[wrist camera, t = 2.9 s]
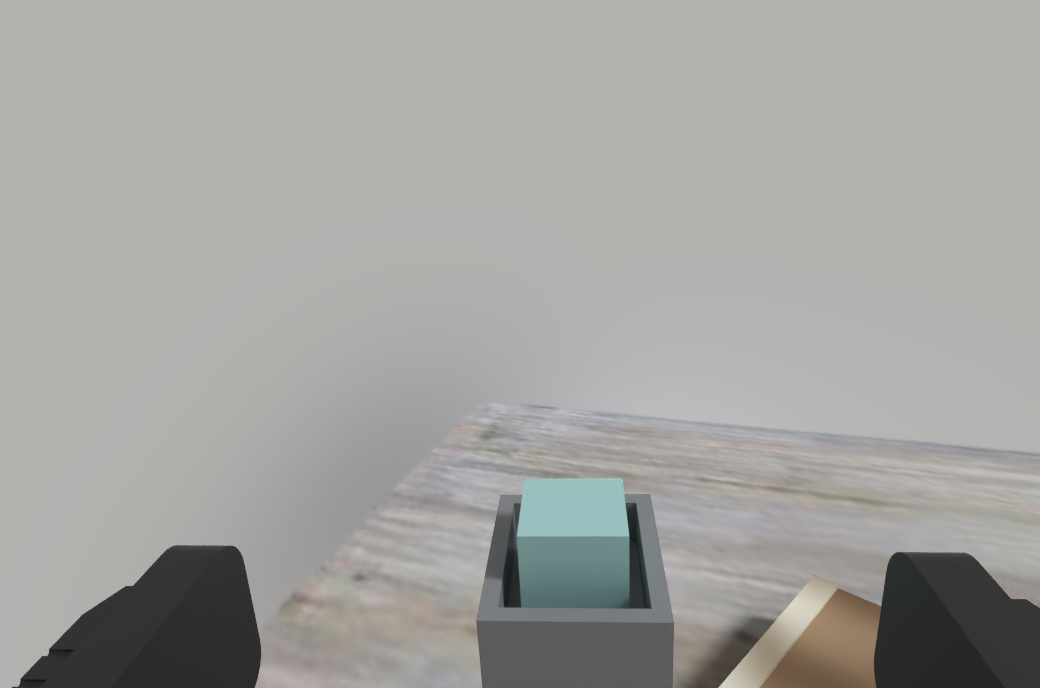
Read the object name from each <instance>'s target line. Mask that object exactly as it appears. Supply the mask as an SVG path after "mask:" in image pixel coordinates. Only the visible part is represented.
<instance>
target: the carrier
mask: <svg viewBox="0 0 1040 688" xmlns="http://www.w3.org/2000/svg"><path fill="white" fill-rule="evenodd" d="M624 496H625V504H626V513H627V521H628V529H629V603H630V609H615V608H521V595H520V579H519V564H518V549H517V530H518V523H519V516H520V509H521V501H522V495H500V500H499V506H498V511H497V516H496V521H495V526H494V532H493V537H492V542H491V547H490V553H489V558H488V563H487V568H486V573H485V579H484V584H483V589H482V594H481V599H480V605H479V610H478V615H477V620H476V622H477V632H478V643H479V654H480V665H481V676H482V687H483V688H672V684H673V641H674V620H673V615H672V610H671V604H670V599H669V593H668V588H667V583H666V577H665V572H664V566H663V561H662V556H661V550H660V545H659V539H658V534H657V529H656V523H655V518H654V512H653V507H652V501H651V496H650V494H624Z"/></svg>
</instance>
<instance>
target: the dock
mask: <svg viewBox="0 0 1040 688" xmlns="http://www.w3.org/2000/svg"><path fill="white" fill-rule="evenodd" d="M880 612H881V606H879V605H876V604H874V603H871V602H869V601H867V600H864V599H862V598H860V597H857V596H855V595H852V594H850V593H848V592H845V591H843V590H841V589H838V585H837V584H835V583H832V582H830V581H827V580H825V579H823V578H820V577H818V576H816V575H814V576H813V577H812V578H811V580H810V581H809V582H808V583H807V584H806V585H805V587H804V588H803V589H802V590H801V591H800V593H799V594H798V595H797V596H796V597H795V598H794V600H793V601H792V602H791V603H790V604H789V605H788V607H787V608H786V609H785V610H784V611H783V612H782V614H781V615H780V616H779V617H778V618H777V620H776V621H775V622H774V623H773V624H772V625H771V627H770V628H769V629H768V630H767V631H766V632H765V634H764V635H763V636H762V637H761V638H760V640H759V641H758V642H757V643H756V644H755V645H754V647H753V648H752V649H751V650H750V651H749V652H748V654H747V655H746V656H745V657H744V658H743V659H742V661H741V662H740V663H739V664H738V665H737V667H736V668H735V669H734V670H733V671H732V672H731V674H730V675H729V676H728V677H727V678H726V679H725V681H724V682H723V683H722V684H721V685H720V686H719V688H876V682H875V675H874V653H875V646H876V639H877V632H878V626H879V619H880Z"/></svg>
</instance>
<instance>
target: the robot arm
mask: <svg viewBox="0 0 1040 688" xmlns="http://www.w3.org/2000/svg"><path fill="white" fill-rule="evenodd" d="M260 661H261V644H260V638H259V633H258V628H257V623H256V618H255V613H254V608H253V604H252V599H251V594H250V589H249V584H248V579H247V574H246V570H245V565H244V561H243V557H242V555H241V553H240V552H239V550H238V549H237V548H236V547H234V546H187V545H184V546H182V545H181V546H179V545H177V546H172V547H170V548H169V549H167V550H166V551H165V552H164V553H163V554H162V555H161V556H160V557H159V558H158V560H157V561H156V562H155V563H154V564H153V565H152V566H151V567H150V568H149V569H148V570H147V571H146V573H145V574H144V575H143V576H142V577H141V578H140V579H139V580H138V581H137V582H136V583H135V584H134V585H133V586H126V587H124V588H123V589H121V590H119V591H118V592H117V593H115V594H113V595H112V596H110V597H109V598H107V599H106V600H104V601H103V602H101V603H100V604H98V605H97V606H95V607H94V608H92V609H91V610H89V611H88V612H86V613H84V614H83V615H82V616H81V617H80V618H79V619H78V620H77V621H76V622H75V623H74V624H73V625H72V626H71V627H70V628H69V629H68V630H67V631H66V632H65V633H64V634H63V636H61V638H60V639H59V640H58V641H57V642H56V643H55V644H54V645H53V646H52V647H51V648H50V649H49V654H48V656H42V657H41V658H40V659H39V660H38V661H37V662H36V663H35V664H34V666H32V668H31V669H30V670H29V671H28V672H27V673H26V674H25V675H24V676H23V677H22V678H21V682H20V685H19V686H18V687H12V688H255V685H256V682H257V678H258V674H259V668H260ZM874 675H875V682H876V688H1040V608H1038V607H1037V606H1035V605H1034V604H1032V603H1031V602H1029V601H1028V600H1026V599H1010V597H1009V596H1008V595H1007V594H1006V593H1005V592H1004V591H1003V589H1002V588H1001V587H1000V586H999V585H998V584H997V583H996V581H995V580H994V579H993V578H992V577H991V576H990V575H989V574H988V572H987V571H986V570H985V569H984V568H983V567H982V566H981V564H980V563H979V562H978V561H977V560H976V559H975V558H974V557H972V556H971V555H969V554H967V553H926V552H897V553H895V554H894V555H893V556H892V557H891V558H890V560H889V563H888V567H887V572H886V579H885V585H884V592H883V599H882V606H881V612H880V619H879V626H878V632H877V639H876V646H875V653H874Z"/></svg>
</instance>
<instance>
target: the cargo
mask: <svg viewBox="0 0 1040 688" xmlns="http://www.w3.org/2000/svg"><path fill="white" fill-rule="evenodd" d="M517 549H518V564H519V579H520V595H521V608H615V609H630V603H629V529H628V521H627V513H626V504H625V496H624V488H623V479H622V478H575V479H524V487H523V494H522V501H521V509H520V516H519V523H518V530H517Z"/></svg>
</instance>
